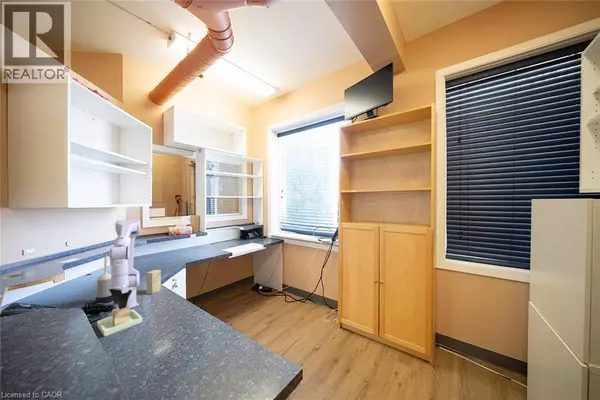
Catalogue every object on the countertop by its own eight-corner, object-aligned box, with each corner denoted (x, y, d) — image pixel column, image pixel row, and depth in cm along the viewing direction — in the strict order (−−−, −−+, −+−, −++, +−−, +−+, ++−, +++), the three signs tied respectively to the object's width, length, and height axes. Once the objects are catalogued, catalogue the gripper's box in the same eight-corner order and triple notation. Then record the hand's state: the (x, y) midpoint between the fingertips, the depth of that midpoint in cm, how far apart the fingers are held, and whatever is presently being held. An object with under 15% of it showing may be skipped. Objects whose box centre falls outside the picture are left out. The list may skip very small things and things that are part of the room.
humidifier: (117, 296, 121) (117, 252, 122) (112, 302, 114) (112, 255, 114) (99, 299, 118) (99, 254, 118) (92, 305, 110) (92, 257, 111)
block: (112, 324, 92) (112, 309, 92) (127, 318, 96) (126, 305, 96) (115, 327, 90) (115, 312, 90) (129, 321, 94) (129, 307, 94)
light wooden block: (152, 294, 123) (152, 273, 124) (145, 293, 124) (145, 272, 125) (161, 290, 130) (161, 269, 130) (155, 289, 131) (155, 269, 131)
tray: (97, 326, 91) (97, 321, 91) (133, 313, 101) (133, 309, 101) (104, 337, 84) (104, 331, 84) (142, 322, 94) (142, 317, 94)
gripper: (103, 273, 94) (103, 304, 94) (112, 280, 85) (112, 314, 85) (123, 269, 100) (124, 298, 100) (134, 275, 91) (134, 307, 91)
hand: (120, 305), depth 93 cm, fingers open, 7 cm apart
